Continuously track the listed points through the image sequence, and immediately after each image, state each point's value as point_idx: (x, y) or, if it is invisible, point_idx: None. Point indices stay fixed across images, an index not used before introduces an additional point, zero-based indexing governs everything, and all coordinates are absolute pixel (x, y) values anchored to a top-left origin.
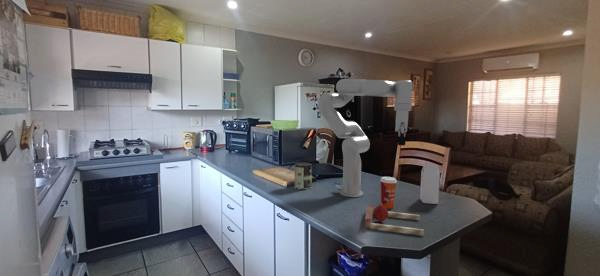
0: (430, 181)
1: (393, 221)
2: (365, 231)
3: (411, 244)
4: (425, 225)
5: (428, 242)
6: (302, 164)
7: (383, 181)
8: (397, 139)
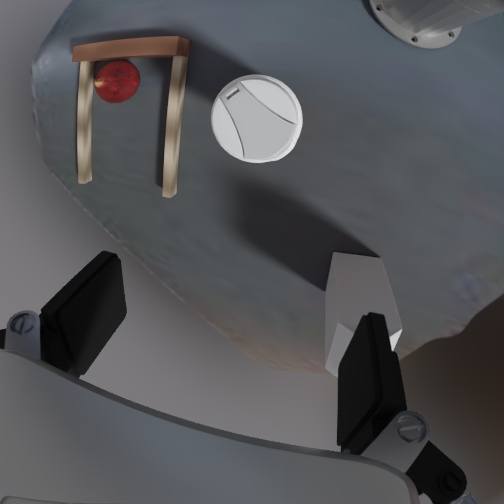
0: (331, 320)
1: (144, 116)
2: None
3: (50, 148)
4: (140, 199)
5: (65, 182)
6: None
7: (225, 89)
8: (376, 339)
